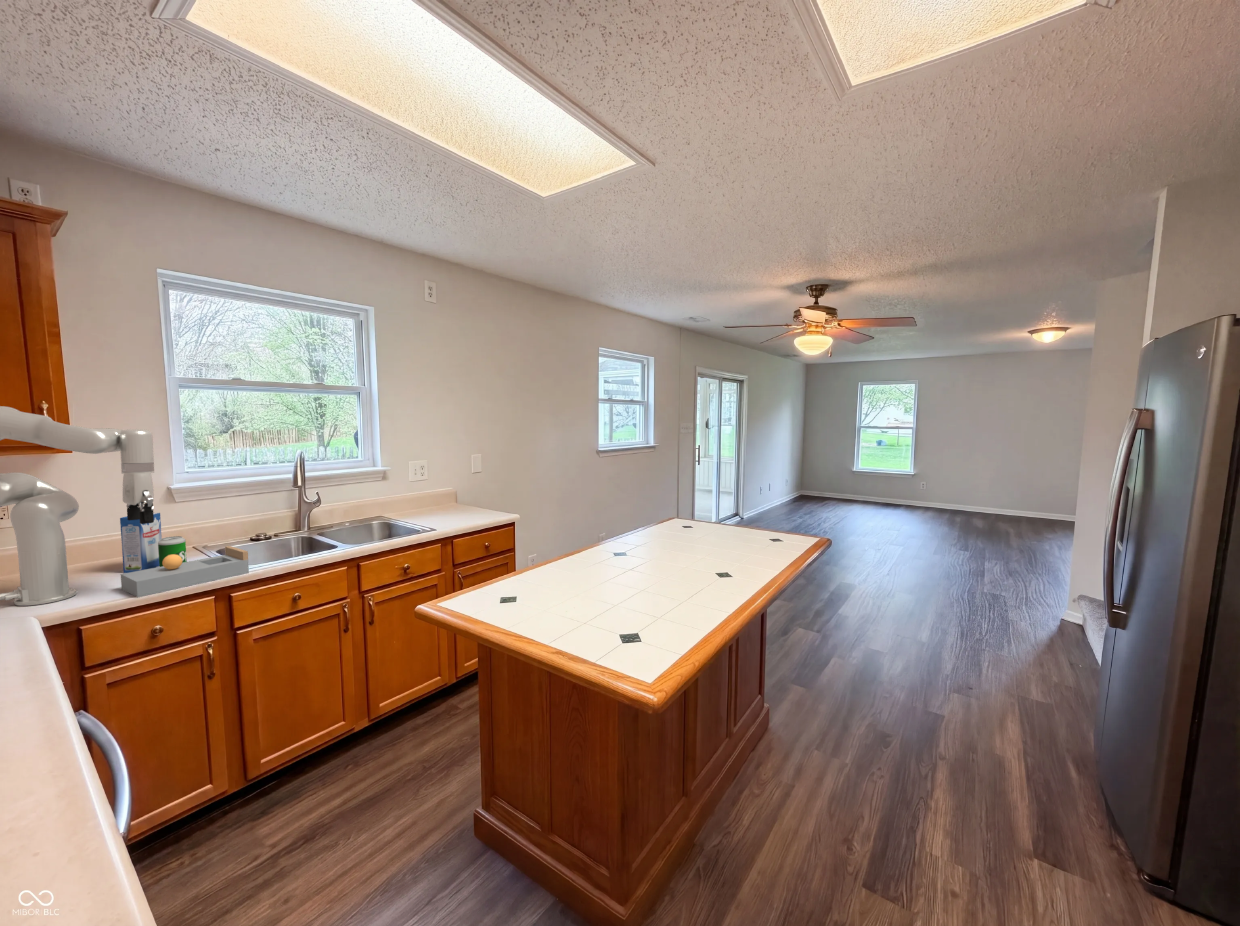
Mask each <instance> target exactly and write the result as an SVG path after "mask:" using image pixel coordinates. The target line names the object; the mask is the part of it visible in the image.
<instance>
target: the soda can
mask: <svg viewBox="0 0 1240 926" xmlns="http://www.w3.org/2000/svg"><path fill="white" fill-rule="evenodd" d="M186 543H187V541H186V538H184V537H183V536H179V535H178V536H177V535H176V536H165V537H163V538H162V539H161V540H160V541H159V542H158V552H159V567H162V566H163V564H162V562H163V559H164V558H165V557H167V556H168V555H172V554H175V555H179V556H180V557H181V558H182V563H183V562H188V561H187V560H188V559H187V544H186Z"/></svg>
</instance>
